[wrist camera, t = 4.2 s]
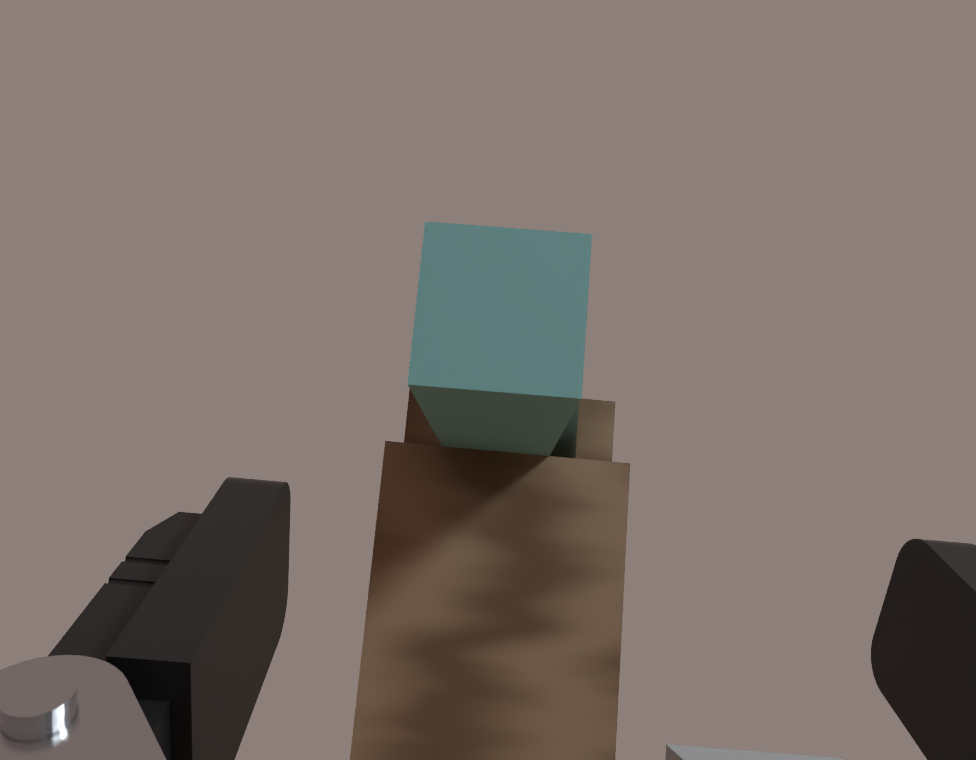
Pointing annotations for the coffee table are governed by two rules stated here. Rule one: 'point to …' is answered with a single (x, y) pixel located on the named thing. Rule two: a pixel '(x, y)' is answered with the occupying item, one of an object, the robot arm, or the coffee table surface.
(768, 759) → the tall gray pillar
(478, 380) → the bar
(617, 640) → the post
